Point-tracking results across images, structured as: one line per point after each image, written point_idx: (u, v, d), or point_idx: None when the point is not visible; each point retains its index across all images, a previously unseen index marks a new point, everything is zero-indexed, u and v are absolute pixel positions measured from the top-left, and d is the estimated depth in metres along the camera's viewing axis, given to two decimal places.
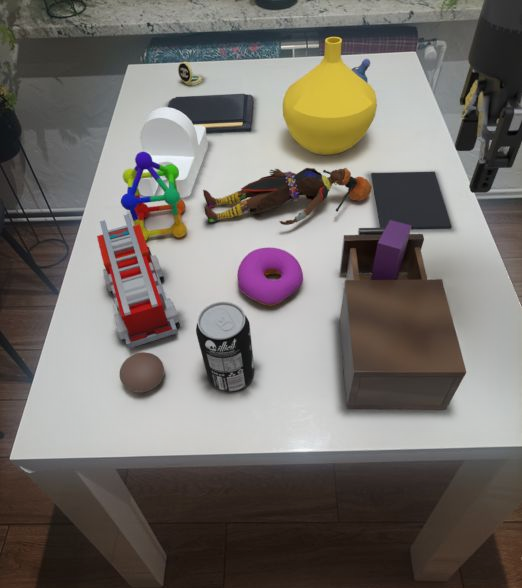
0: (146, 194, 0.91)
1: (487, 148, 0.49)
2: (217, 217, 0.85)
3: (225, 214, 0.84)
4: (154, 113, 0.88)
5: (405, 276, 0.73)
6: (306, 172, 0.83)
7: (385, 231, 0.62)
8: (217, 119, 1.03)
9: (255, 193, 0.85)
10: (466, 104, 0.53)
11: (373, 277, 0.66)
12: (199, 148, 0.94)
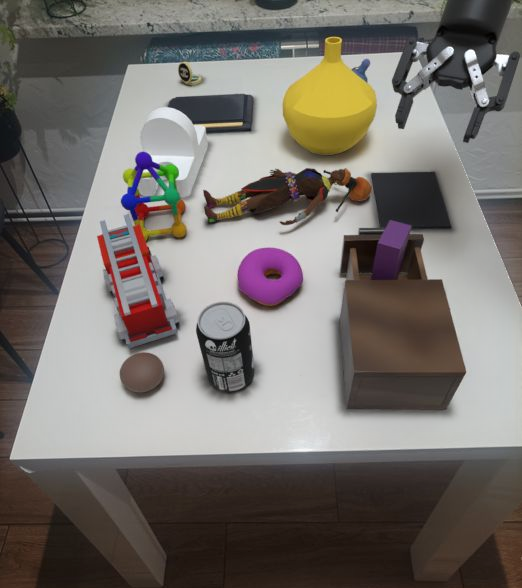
0: (146, 194, 0.91)
1: None
2: (217, 217, 0.85)
3: (225, 214, 0.84)
4: (154, 113, 0.88)
5: (405, 276, 0.73)
6: (306, 172, 0.83)
7: (385, 231, 0.62)
8: (217, 119, 1.03)
9: (255, 193, 0.85)
10: None
11: (373, 277, 0.66)
12: (199, 148, 0.94)
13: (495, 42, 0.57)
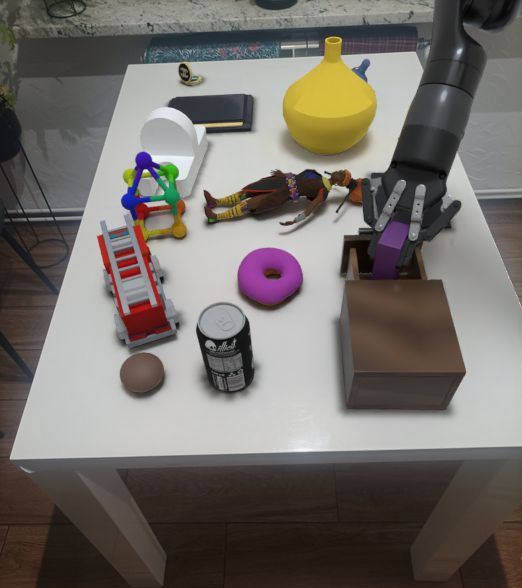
0: (146, 194, 0.91)
1: None
2: (217, 217, 0.84)
3: (225, 214, 0.84)
4: (154, 113, 0.88)
5: (405, 276, 0.73)
6: (306, 173, 0.82)
7: (385, 231, 0.62)
8: (217, 119, 1.03)
9: (255, 194, 0.85)
10: None
11: (373, 277, 0.66)
12: (199, 148, 0.94)
13: (445, 177, 0.60)
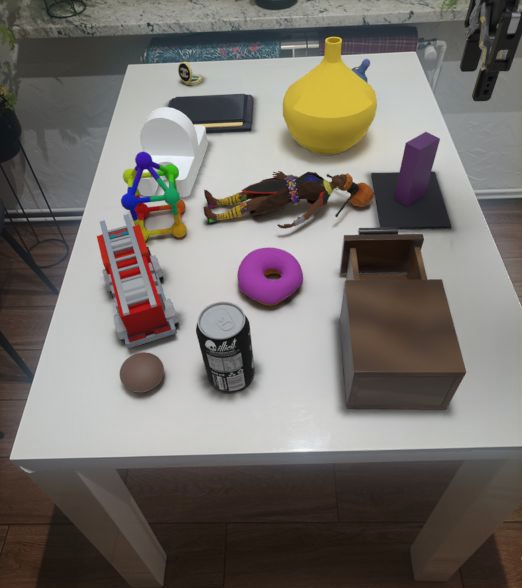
0: (146, 194, 0.91)
1: None
2: (216, 218, 0.84)
3: (224, 215, 0.84)
4: (154, 113, 0.88)
5: (405, 276, 0.73)
6: (307, 176, 0.82)
7: (416, 137, 0.78)
8: (217, 119, 1.03)
9: (256, 195, 0.85)
10: None
11: (399, 177, 0.82)
12: (198, 148, 0.94)
13: None
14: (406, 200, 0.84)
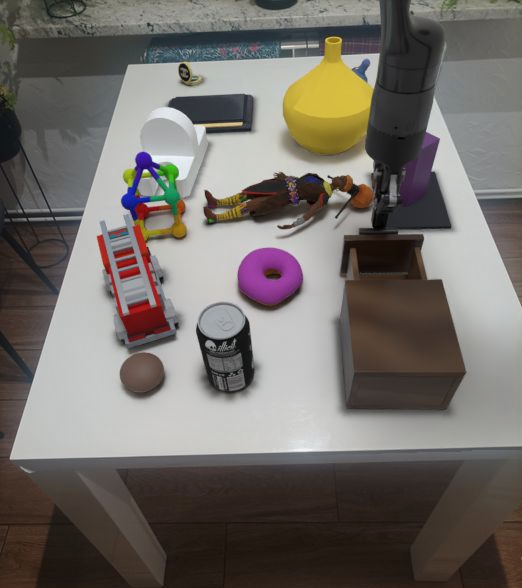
0: (146, 194, 0.91)
1: None
2: (216, 218, 0.84)
3: (224, 215, 0.84)
4: (154, 113, 0.88)
5: (405, 276, 0.73)
6: (308, 177, 0.82)
7: None
8: (217, 119, 1.03)
9: (256, 196, 0.85)
10: None
11: None
12: (198, 148, 0.94)
13: (388, 168, 0.62)
14: (406, 200, 0.84)
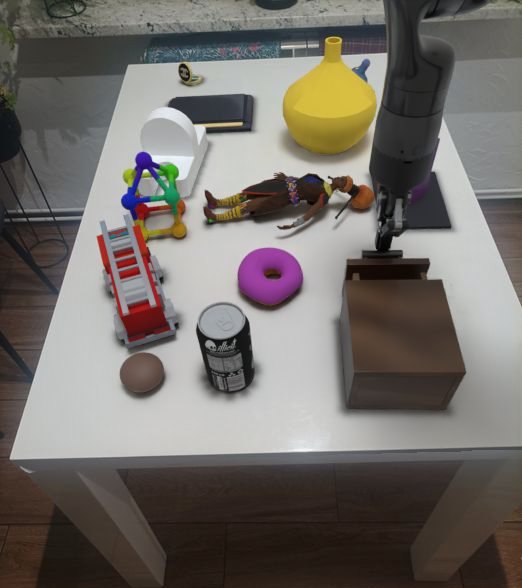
0: (146, 194, 0.91)
1: None
2: (216, 218, 0.84)
3: (224, 215, 0.84)
4: (154, 113, 0.88)
5: None
6: (308, 177, 0.82)
7: None
8: (217, 119, 1.03)
9: (256, 196, 0.85)
10: None
11: None
12: (198, 148, 0.94)
13: (394, 192, 0.59)
14: None
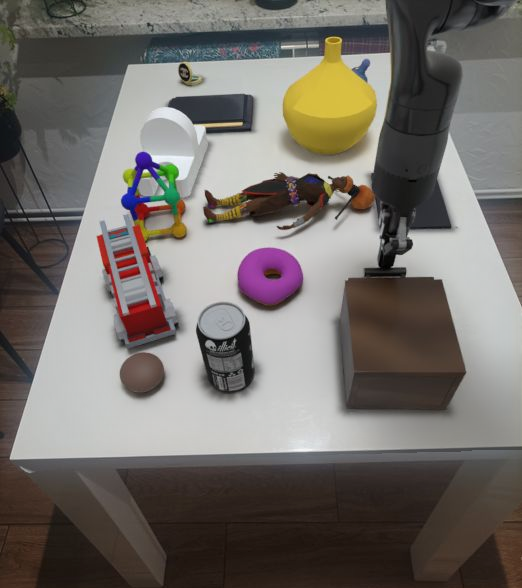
0: (146, 194, 0.91)
1: None
2: (216, 218, 0.84)
3: (224, 215, 0.84)
4: (154, 113, 0.88)
5: None
6: (308, 178, 0.82)
7: None
8: (217, 119, 1.03)
9: (256, 196, 0.85)
10: None
11: None
12: (198, 148, 0.94)
13: (397, 210, 0.57)
14: None
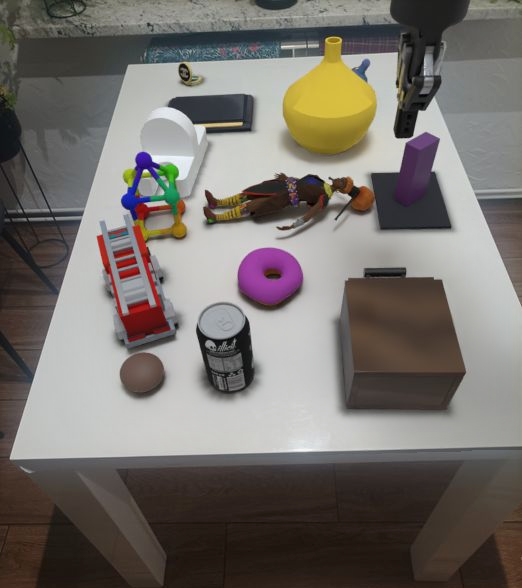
0: (146, 194, 0.91)
1: None
2: (216, 218, 0.84)
3: (224, 215, 0.84)
4: (154, 113, 0.88)
5: None
6: (308, 178, 0.82)
7: (416, 137, 0.78)
8: (217, 119, 1.03)
9: (256, 196, 0.84)
10: None
11: (399, 177, 0.82)
12: (198, 148, 0.94)
13: (423, 34, 0.46)
14: (406, 200, 0.84)
